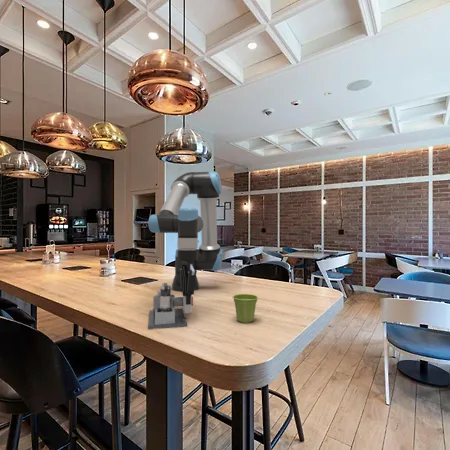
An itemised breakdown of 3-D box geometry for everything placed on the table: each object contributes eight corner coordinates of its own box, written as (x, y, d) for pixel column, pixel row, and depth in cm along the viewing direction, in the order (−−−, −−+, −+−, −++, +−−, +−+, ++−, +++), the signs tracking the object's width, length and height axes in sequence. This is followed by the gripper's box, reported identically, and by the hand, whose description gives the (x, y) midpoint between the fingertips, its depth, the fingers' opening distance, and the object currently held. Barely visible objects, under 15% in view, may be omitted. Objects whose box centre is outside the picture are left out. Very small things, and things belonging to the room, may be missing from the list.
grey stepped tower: (169, 318, 101) (170, 283, 102) (170, 323, 96) (171, 286, 96) (159, 318, 100) (160, 283, 101) (159, 324, 95) (161, 286, 95)
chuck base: (182, 310, 114) (182, 298, 114) (187, 326, 96) (187, 311, 96) (149, 312, 111) (149, 300, 111) (148, 329, 93) (148, 314, 93)
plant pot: (231, 316, 107) (231, 293, 107) (255, 316, 108) (255, 293, 108) (234, 324, 98) (234, 300, 98) (260, 324, 99) (260, 299, 99)
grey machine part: (191, 307, 114) (192, 280, 114) (194, 313, 107) (194, 284, 107) (153, 309, 111) (153, 282, 111) (153, 315, 103) (153, 286, 103)
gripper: (203, 250, 101) (203, 316, 100) (191, 247, 112) (190, 306, 112) (183, 250, 97) (183, 318, 97) (173, 248, 109) (172, 309, 109)
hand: (187, 312), depth 104 cm, fingers closed
